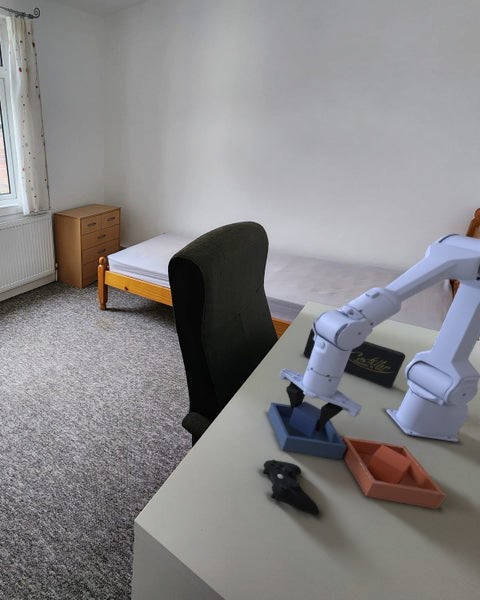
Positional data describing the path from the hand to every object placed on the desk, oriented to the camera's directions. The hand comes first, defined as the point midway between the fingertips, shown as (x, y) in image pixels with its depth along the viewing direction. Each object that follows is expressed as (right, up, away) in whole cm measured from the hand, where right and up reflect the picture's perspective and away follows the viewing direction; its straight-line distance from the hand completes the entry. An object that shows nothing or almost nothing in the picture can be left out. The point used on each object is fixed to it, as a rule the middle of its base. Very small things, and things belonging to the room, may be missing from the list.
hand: (306, 421), depth 73 cm
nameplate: (+27, +6, +24) cm, 37 cm away
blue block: (0, -1, +1) cm, 1 cm away
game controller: (-11, -9, -10) cm, 17 cm away
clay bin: (+10, -8, -8) cm, 15 cm away
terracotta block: (+9, -7, -8) cm, 14 cm away
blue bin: (0, -4, +2) cm, 4 cm away
